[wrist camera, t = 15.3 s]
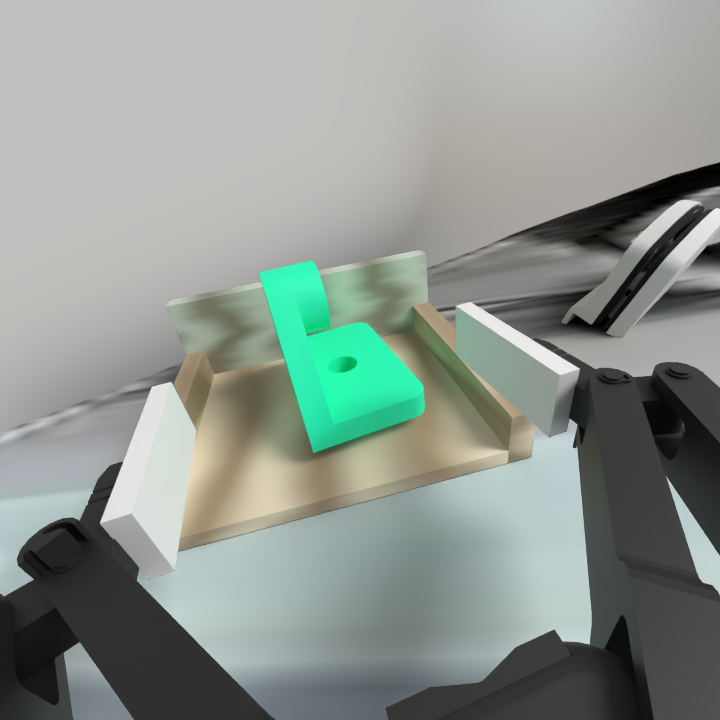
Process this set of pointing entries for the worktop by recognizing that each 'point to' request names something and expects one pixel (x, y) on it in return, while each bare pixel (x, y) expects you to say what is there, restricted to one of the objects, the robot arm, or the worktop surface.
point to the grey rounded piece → (649, 267)
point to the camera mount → (336, 363)
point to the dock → (284, 420)
